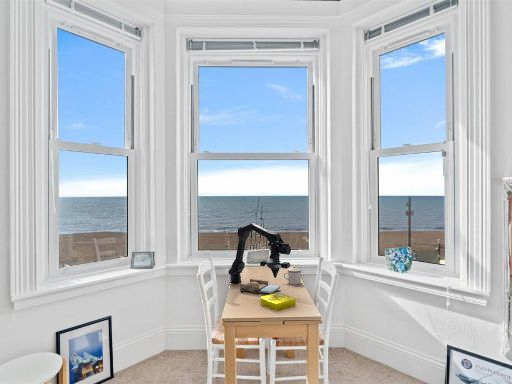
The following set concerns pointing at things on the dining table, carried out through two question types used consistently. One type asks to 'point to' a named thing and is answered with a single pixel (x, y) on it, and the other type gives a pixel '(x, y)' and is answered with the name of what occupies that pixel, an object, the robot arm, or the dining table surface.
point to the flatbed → (254, 288)
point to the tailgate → (270, 288)
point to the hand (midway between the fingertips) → (275, 277)
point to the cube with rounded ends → (254, 283)
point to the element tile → (277, 301)
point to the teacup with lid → (293, 275)
